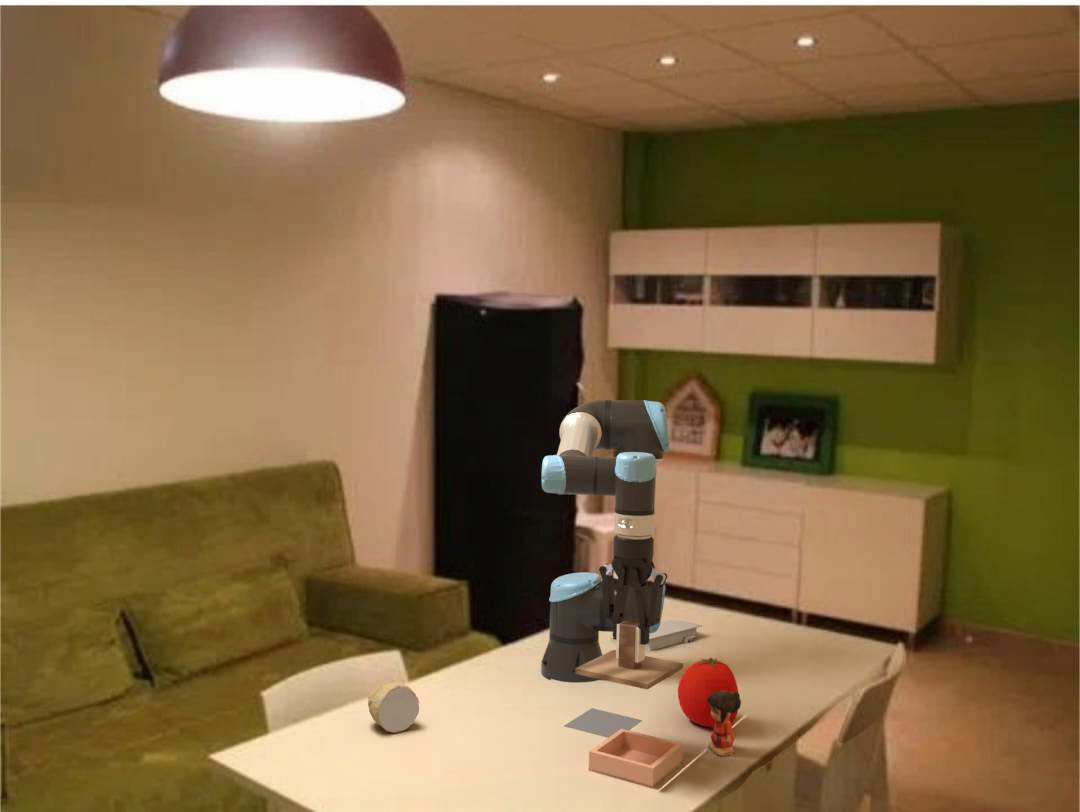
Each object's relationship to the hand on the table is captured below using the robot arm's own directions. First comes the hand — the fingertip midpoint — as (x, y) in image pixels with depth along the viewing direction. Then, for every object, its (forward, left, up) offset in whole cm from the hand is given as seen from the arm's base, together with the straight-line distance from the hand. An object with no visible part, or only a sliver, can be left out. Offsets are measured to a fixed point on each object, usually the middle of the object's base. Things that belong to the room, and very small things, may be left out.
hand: (630, 658), depth 196 cm
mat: (-12, +12, -20) cm, 26 cm away
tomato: (+6, +24, -20) cm, 32 cm away
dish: (+3, -3, -20) cm, 20 cm away
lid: (0, 0, -2) cm, 2 cm away
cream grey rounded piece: (-47, -13, -20) cm, 52 cm away
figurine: (+13, +14, -20) cm, 28 cm away
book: (-28, +72, -20) cm, 80 cm away
